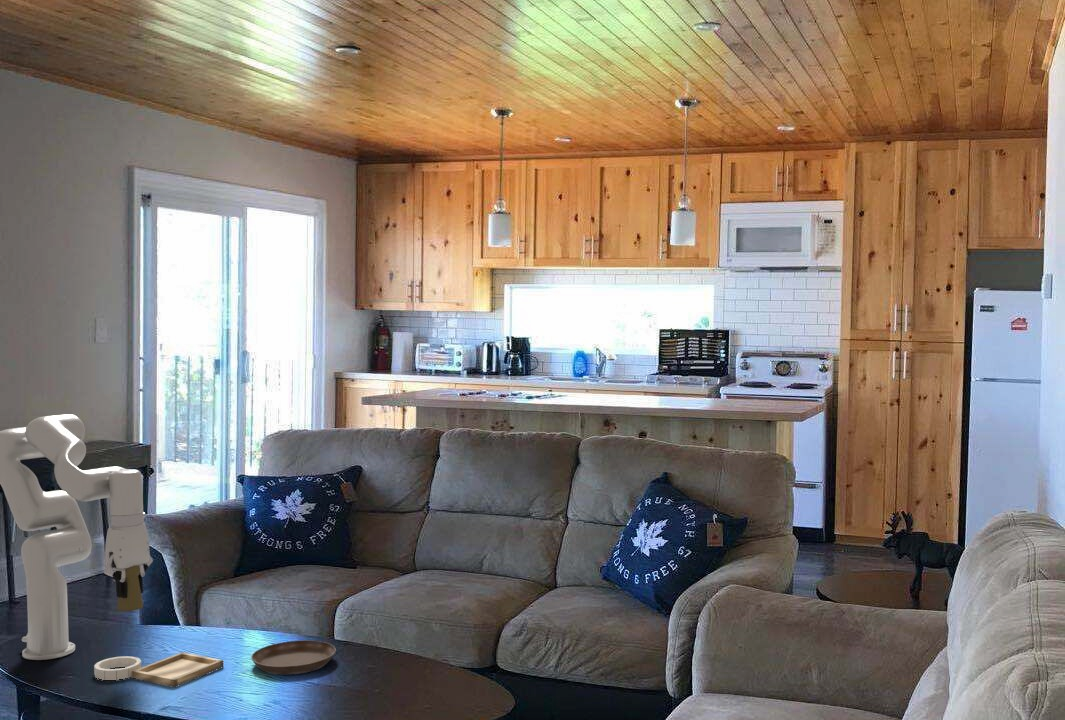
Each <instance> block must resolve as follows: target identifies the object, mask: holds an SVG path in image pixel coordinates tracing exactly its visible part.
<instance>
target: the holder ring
mask: <svg viewBox="0 0 1065 720" xmlns="http://www.w3.org/2000/svg"><path fill="white" fill-rule="evenodd" d="M115 667H125V668H115ZM142 667H143V666H142V660H141V658H140V657H136V656H131V655H130V656H127V655H126V656H125V655H123V656H115V657H109V658H105V659H102V660H100V661H98V662H96V663H95V664H94V665H93V672H94V674H93V675H95V676H94V678H95V679H96V678H97V679H96V680H99V679H102V680H101V681H103V680H116V681H120V680H119V679H123V680H126V679H125V678H128V679H130V678H129V677H131V678H132V671H134V670H136V669H139V668H142ZM110 668H115V669H110ZM98 678H99V679H98Z"/></svg>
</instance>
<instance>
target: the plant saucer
mask: <svg viewBox="0 0 1065 720" xmlns="http://www.w3.org/2000/svg"><path fill="white" fill-rule="evenodd" d="M336 651H337V649H336V647H335V645H333V644H331V643H329V642H325V641H321V640H320V641H319V640H309V639H306V640H304V639H302V640H291V641H284V642H277V643H273V644H271V645H270V644H269V645H267V646H264V647H262V648H259V649H257V650H256V651H254V652H253V653H252V654H251V660H252V662H253V663H254V664H255V666H256V667H257V668H258V669H259V670H260V671H263V672H264V671H265V672H264V673H267V674H271V673H272V674H271V675H277V674H282V675H281V676H291V675H292V674H294V675H300V674H301V673H302V674H306V673H310V672H314V671H317V670H319V669H321V668H323V667H325V665H327V664H328V663H329V662H330V661H331V660H332V659H333V657H334V655H335V653H336ZM292 676H293V675H292Z"/></svg>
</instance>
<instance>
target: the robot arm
mask: <svg viewBox="0 0 1065 720" xmlns="http://www.w3.org/2000/svg"><path fill="white" fill-rule="evenodd" d="M85 435H86V427H85V425H84V423H83V420H81V419H80V417H78V416H77V415H75V414H71V413H70V414H69V413H63V414H55V415H46V416H45V415H44V416H39V417H37V418H34V419H33V420H31V421H30V422H29V423H28V424H27V425H26V426H23V427H22V426H21V427H13V428H6V429H3V430H0V486H1V488H2V491H3V492H4V496H5V498H6V501H7V504H8V506H9V509H10V511H11V514H12V517H13V519H14V522H15V523H16V525H17V527H18V528H19V529H20V530H22V532H23V531H25V532H34V531H38V530H39V531H40V530H45V529H50V528H54V527H55V528H56V529H52V530H51V529H50V530H47V531H44V532H43V531H41V532H37V533H35V534H33V535H31V536H29V537H27V538H26V539H24V541H23V543H22V545H21V548H20V549H21V550H20V554H21V560H22V562H23V563H22V564H23V568H24V574H25V581H26V582H25V583H26V602H27V604H26V605H27V606H26V607H27V608H26V610H27V633H26V636H23V637H22V638H21V641H22V642H24V643H26V647H25V648H24V649H22V652H21V653H22V654H21V655H22V658H23V659H26V660H29V661H30V660H31V661H34V660H35V661H43V660H44V661H46V660H53V659H57V658H63V657H65V656H68V655H71V654H72V653H74V652H75V650H76V644H75V643H73V642H71V641H69V639H70V638H69V637H70V636H69V611H68V610H69V609H68V607H69V605H68V584H67V581H66V578H65V577H64V576H63V574H62V573H61V572H60V570H59V568H60V567H62V566H66V565H71V564H74V563H78V562H79V563H80V562H82V561H84V560H86V559H87V558H88V557H89V556H90V554H91V552H92V548H93V547H92V544H93V543H92V538H91V535H90V533H89V532H90V531H89V530H88V528H87V524H86V522H85V519H84V517H83V514H82V512H81V509H80V507H79V503H78V501H79V502H93V501H96V500H100V499H102V500H103V499H107V498H108V499H109V511H110V512H109V513H110V514H109V515H110V527H108V528H107V532H106V538H105V548H104V550H105V551H104V561H105V562H104V563H105V565H104V566H105V568H104V569H103V574H105V575H107V576H109V577H110V578H111V579H112V580H113V582H115V589H116V590H115V591H116V598H118V597H119V598H121V597H122V598H127V592H128V590H127V582H126V581H125V576H126V574H125V571H126V569H127V568H129V567H132V566H135V565H139V566H140V574H139V575H138V578H139V584H140V590H141V594H143V593H144V588H143V587H144V586H143V585H144V584H143V583H144V582H143V581H144V580H143V577H145V575H146V571H147V570H148V568H149V567H150V565H152V563H153V561H154V559H153V557H152V556H151V554H150V541H149V535H148V529H147V526H146V523H144V522H145V520H144V518H146V517H147V514H146V512H144V498H143V493H144V492H143V475H142V472H141V471H140V470H138V469H132V468H131V469H130V468H124V467H121V466H118V465H117V466H116V465H115V466H112V465H111V466H107V467H105V466H104V467H99V468H91V469H85V470H82V469H80V468H79V467H78V466H79V465H80V464H81V463H82V462H83V461H84V458H85V457H86V454H87V446H86V444H85V442H84V441H83V440H84V438H85ZM44 457H45V458H47V459H48V460H49V461H50V462H51V463H52V464H54V469H53V470H54V471H53V472H54V477H55V481H56V483H57V485H58V486H59V488H60V489H61V490H60V489H56V490H50V491H45V490H43V489H42V487H41V485H40V483H39V479H38V477H37V476H36V474H35V473H34V472H33V470H31V469H30V468H29V467H28V466H27V465H25V464H23V463H22V462H21V461H22V460H30V459H38V458H44ZM118 571H121V572H120V574H118Z"/></svg>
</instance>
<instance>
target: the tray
mask: <svg viewBox="0 0 1065 720" xmlns="http://www.w3.org/2000/svg"><path fill="white" fill-rule="evenodd" d="M221 667H223V668H224V660H223V659H219V658H215V657H214V658H213V657H208V656H204V655H198V654H193V653H188V652H183V651H182V652H179V653H176V654H173V655H171V656H169V657H166V658H163V659H159V660H158V661H155V662H153V663H150V664H147V665H144V666H142V668H139V669H136V670H134V671H132V677H131V678H132V679H133V678H136V679H135V680H137V679H140V680H139V681H142V680H145V681H144V682H147V681H149V682H148V683H151V682H153V683H152V684H156V683H158V684H157V685H160V684H162V685H161V686H165V685H167V686H166V687H170V686H172V687H171V688H174V687H175V688H176V686H177V687H179V686H181V684H182V685H184V684H186V683H185V682H187V683H188V681H189V682H191V681H190V680H192V681H193V679H194V680H196V679H199V678H201V677H203V675H204V676H205V674H206V675H208V674H207V673H209V672H211V673H213V672H215V671H214V670H216V669H218V670H220V669H219V668H221ZM221 669H222V668H221ZM212 671H213V672H212ZM216 671H217V670H216ZM209 674H210V673H209ZM200 676H201V677H200ZM198 677H199V678H198ZM195 678H196V679H195ZM183 683H184V684H183ZM178 685H179V686H178Z"/></svg>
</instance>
